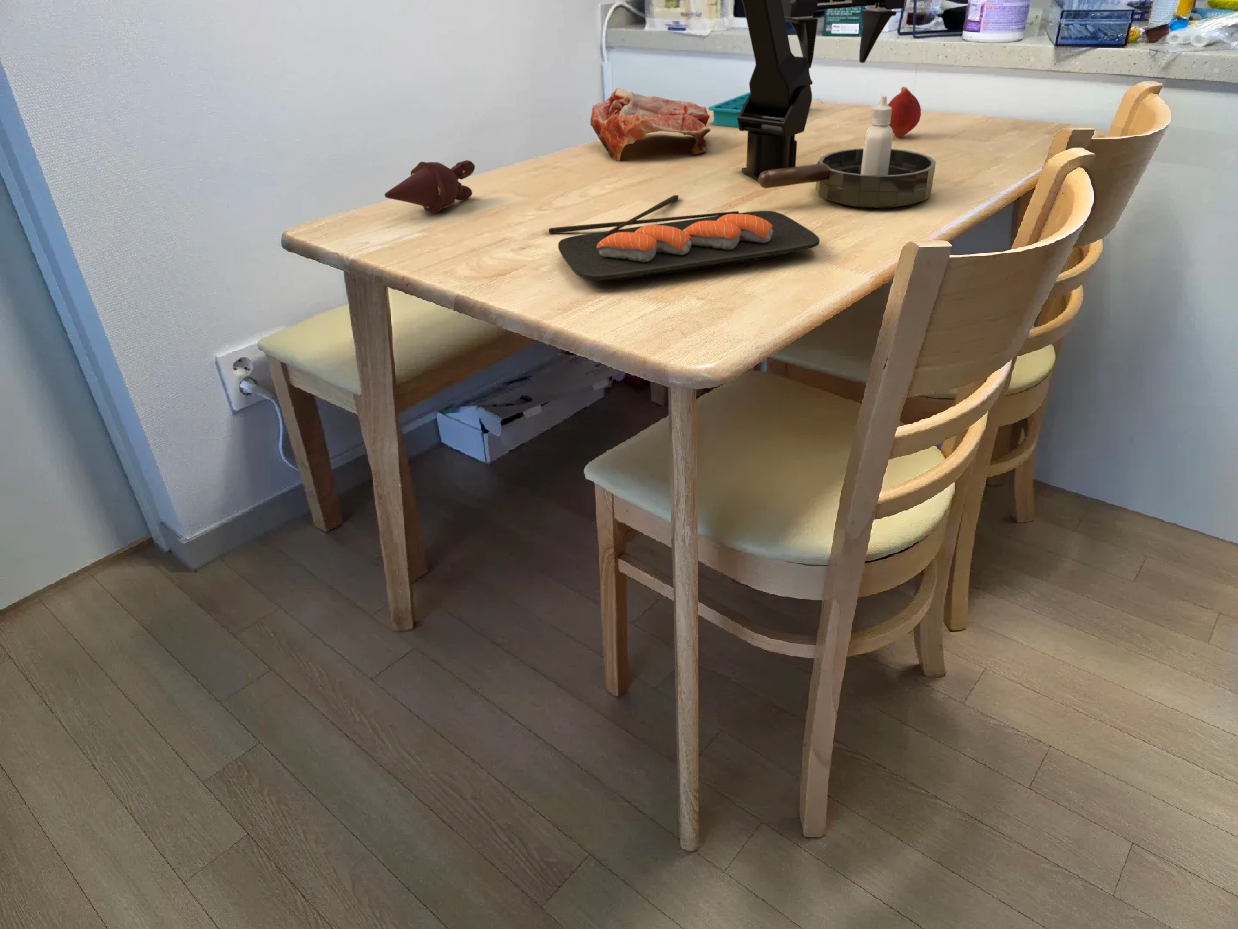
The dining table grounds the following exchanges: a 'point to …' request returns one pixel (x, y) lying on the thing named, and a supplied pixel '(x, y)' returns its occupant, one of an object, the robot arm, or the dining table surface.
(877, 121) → the eye dropper bottle
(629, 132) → the meat
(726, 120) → the ice cube tray
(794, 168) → the handle
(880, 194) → the dark frying pan
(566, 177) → the dining table surface
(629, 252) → the sushi plate
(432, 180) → the icecream
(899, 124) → the onion
